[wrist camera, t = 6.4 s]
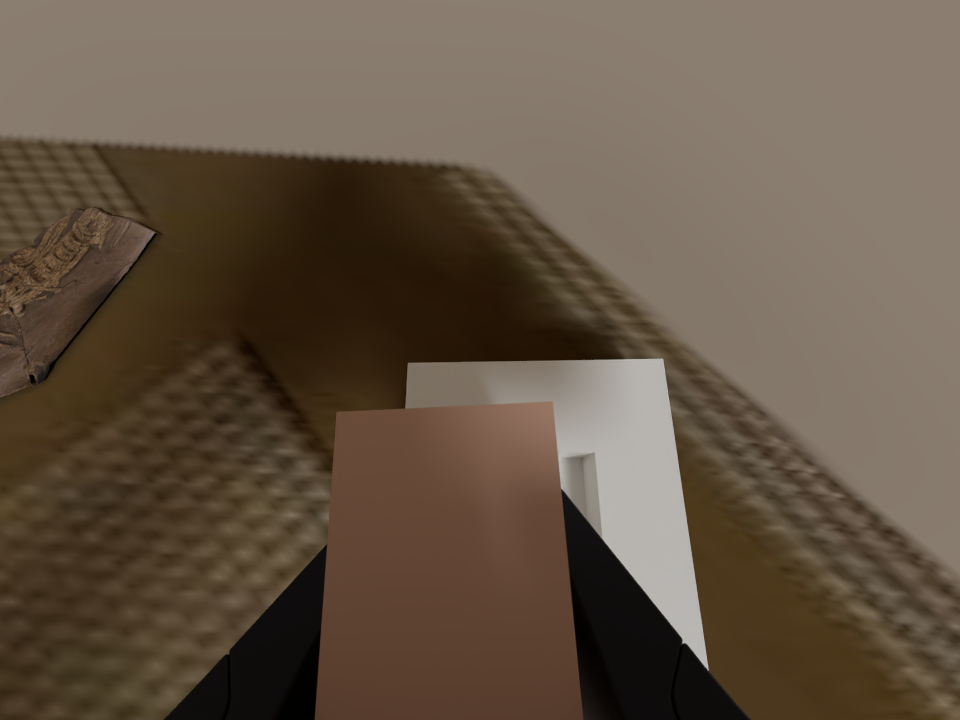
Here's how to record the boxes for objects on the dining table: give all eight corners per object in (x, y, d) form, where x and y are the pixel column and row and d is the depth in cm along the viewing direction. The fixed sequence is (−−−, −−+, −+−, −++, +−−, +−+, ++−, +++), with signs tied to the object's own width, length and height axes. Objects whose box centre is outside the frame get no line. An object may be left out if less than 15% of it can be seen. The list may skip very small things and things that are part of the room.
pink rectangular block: (533, 632, 13) (607, 969, 4) (442, 634, 14) (296, 967, 4) (521, 459, 15) (552, 401, 6) (440, 463, 15) (336, 411, 6)
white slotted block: (679, 734, 18) (727, 799, 14) (408, 727, 19) (383, 788, 15) (636, 381, 23) (663, 358, 19) (423, 384, 23) (407, 362, 20)
